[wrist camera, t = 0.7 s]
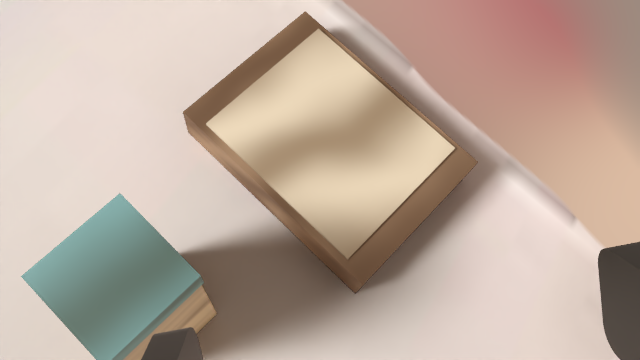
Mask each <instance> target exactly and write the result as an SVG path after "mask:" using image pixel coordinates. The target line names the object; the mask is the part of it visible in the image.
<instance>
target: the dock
mask: <svg viewBox="0 0 640 360" xmlns="http://www.w3.org/2000/svg"><path fill="white" fill-rule="evenodd" d="M183 114H184V118H185V121H186V125H187V129H188V132H189V133H190V134H191V135H192V136H193V137H194V138H195V139H196V140H197V141H198V142H199V143H200V144H201V145H202V146H203V147H204V148H205V149H206V150H207V151H208V152H209V153H210V154H211V155H212V156H213V157H215V158H216V159H217V160H218V161H219V162H220V163H221V164H222V165H223V166H224V167H225V168H226V169H227V170H228V171H229V172H230V173H231V174H232V175H233V176H234V177H235V178H236V179H237V180H238V181H239V182H240V183H241V184H242V185H243V186H245V187H246V188H247V189H248V190H249V191H250V192H251V193H252V194H253V195H254V196H255V197H256V198H257V199H258V200H259V201H260V202H261V203H262V204H263V205H264V206H265V207H266V208H267V209H268V210H269V211H270V212H271V213H272V214H273V215H275V216H276V217H277V218H278V219H279V220H280V221H281V222H282V223H283V224H284V225H285V226H286V227H287V228H288V229H289V230H290V231H291V232H292V233H293V234H294V235H295V236H296V237H297V238H298V239H299V240H300V241H301V242H302V243H304V244H305V245H306V246H307V247H308V248H309V249H310V250H311V251H312V252H313V253H314V254H315V255H316V256H317V257H318V258H319V259H320V260H321V261H322V262H323V263H324V264H325V265H326V266H327V267H328V268H329V269H330V270H331V271H332V272H334V273H335V274H336V275H337V276H338V277H339V278H340V279H341V280H342V281H343V282H344V283H345V284H346V285H347V286H348V287H349V288H350V289H351V290H352V291H353V292H354V293H356V292H357V291H358V290H359V289H360V288H361V287H362V286H363V285H364V284H365V283H366V282H367V281H368V280H369V278H370V277H371V276H372V275H373V274H374V273H375V272H376V271H377V270H378V269H379V268H380V267H381V266H382V265H383V264H384V262H385V261H386V260H387V259H388V258H389V257H390V256H391V255H392V254H393V253H394V252H395V251H396V250H397V249H398V248H399V247H400V245H401V244H402V243H403V242H404V241H405V240H406V239H407V238H408V237H409V236H410V235H411V234H412V233H413V232H414V231H415V229H416V228H417V227H418V226H419V225H420V224H421V223H422V222H423V221H424V220H425V219H426V218H427V217H428V216H429V215H430V214H431V212H432V211H433V210H434V209H435V208H436V207H437V206H438V205H439V204H440V203H441V202H442V201H443V200H444V199H445V198H446V196H447V195H448V194H449V193H450V192H451V191H452V190H453V189H454V188H455V187H456V186H457V185H458V184H459V183H460V182H461V181H462V179H463V178H464V177H465V176H466V175H467V174H468V173H469V172H470V171H471V170H472V168H473V167H474V166H475V165H476V164H477V163H478V161H476V160H475V159H474V158H473V157H472V156H471V155H469V154H468V153H467V152H466V151H465V150H464V149H463V148H461V147H460V146H459V145H458V144H457V143H456V142H455V141H453V140H452V139H451V138H450V137H449V136H448V135H447V134H445V133H444V132H443V131H442V130H441V129H440V128H439V127H437V126H436V125H435V124H434V123H433V122H432V121H430V120H429V119H428V118H427V117H426V116H425V115H424V114H422V113H421V112H420V111H419V110H418V109H417V108H416V107H414V106H413V105H412V104H411V103H410V102H409V101H408V100H406V99H405V98H404V97H403V96H402V95H401V94H400V93H398V92H397V91H396V90H395V89H394V88H393V87H391V86H390V85H389V84H388V83H387V82H386V81H385V80H383V79H382V78H381V77H380V76H379V75H378V74H377V73H375V72H374V71H373V70H372V69H371V68H370V67H369V66H367V65H366V64H365V63H364V62H363V61H362V60H360V59H359V58H358V57H357V56H356V55H355V54H354V53H352V52H351V51H350V50H349V49H348V48H347V47H346V46H344V45H343V44H342V43H341V42H340V41H339V40H338V39H336V38H335V37H334V36H333V35H332V34H331V33H330V32H328V31H327V30H326V29H325V28H324V27H323V26H321V25H320V24H319V23H318V22H317V21H316V20H315V19H313V18H312V17H311V16H310V15H309V14H308V13H307V12H304V13H303V14H301V15H300V16H299V17H298V18H297V19H295V20H294V21H293V22H292V23H291V24H289V25H288V26H287V27H286V28H284V29H283V30H282V31H281V32H280V33H278V34H277V35H276V36H275V37H274V38H272V39H271V40H270V41H269V42H267V43H266V44H265V45H264V46H263V47H261V48H260V49H259V50H258V51H257V52H255V53H254V54H253V55H252V56H250V57H249V58H248V59H247V60H246V61H244V62H243V63H242V64H241V65H240V66H238V67H237V68H236V69H235V70H233V71H232V72H231V73H230V74H229V75H227V76H226V77H225V78H224V79H222V80H221V81H220V82H219V83H218V84H216V85H215V86H214V87H213V88H212V89H210V90H209V91H208V92H207V93H205V94H204V95H203V96H202V97H201V98H199V99H198V100H197V101H196V102H195V103H193V104H192V105H191V106H190V107H188V108H187V109H186V110H185V111H184V112H183Z"/></svg>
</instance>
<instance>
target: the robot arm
mask: <svg viewBox="0 0 640 360" xmlns="http://www.w3.org/2000/svg"><path fill="white" fill-rule="evenodd" d="M598 268H599V280H600V291H601V303H602V315H603V325H604V330H605V334H606V337H607V340H608V342H609V344H610V346H611V348H612V350H613V351H614V353H615V354H616V355H617V356H618V358H620V359H621V360H640V242H637V243H631V244H626V245H621V246H616V247H610V248H605V249H602V250H601V251H600V253H599V257H598ZM141 360H203V356H202V352H201V349H200V345H199V341H198V337H197V334H196V332H195V330H194V329H193V328H192V327H188V328H183V329H178V330H173V331H168V332H162V333H157V334H154V335H153V336H152V338H151V340H150V342H149V344H148V346H147V348H146V350H145V352H144V354H143V357H142V359H141Z"/></svg>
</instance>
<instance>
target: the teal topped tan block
mask: <svg viewBox="0 0 640 360" xmlns="http://www.w3.org/2000/svg"><path fill="white" fill-rule="evenodd" d="M21 277H22V278H23V279H24V280H25V281H26V282H27V283H28V285H29V286H30V287H31V288H32V289H33V290H34V291H35V292H36V293H37V295H38V296H39V297H40V298H41V299H42V300H43V301H44V302H45V303H46V305H47V306H48V307H49V308H50V309H51V310H52V311H53V312H54V313H55V314H56V316H57V317H58V318H59V319H60V320H61V321H62V322H63V323H64V324H65V326H66V327H67V328H68V329H69V330H70V331H71V332H72V333H73V334H74V336H75V337H76V338H77V339H78V340H79V341H80V342H81V343H82V344H83V345H84V347H85V348H86V349H87V350H88V351H89V352H90V353H91V354H92V355H93V357H94V358H95V359H96V360H141V359H142V357H143V354H144V352H145V350H146V348H147V346H148V344H149V342H150V340H151V338H152V336H153V335H154V334H157V333H162V332H168V331H173V330H178V329H183V328H188V327H192V328H193V329H194V330H195V332H196V334H197V333H198V332H199V331H200V330H201V329H202V328H203V327H204V326H205V325H206V324H207V323H208V322H209V321H210V320H211V319H212V318H213V317H214V316H215V315H216V314H217V313H216V311H215V309H214V307H213V305H212V303H211V301H210V299H209V298H208V296H207V294H206V292H205V290H204V288H203V286H202V284H203V283H204V281H203V279H202V277H201V276H200V274H199V273H198V272H197V271H196V270H195V269H194V268H193V267H192V266H191V265H190V264H189V263H188V262H187V261H186V260H185V259H184V258H183V257H182V256H181V255H180V254H179V253H178V252H177V251H176V250H175V249H174V248H173V247H172V246H171V245H170V244H169V243H168V242H167V241H166V240H165V239H164V238H163V237H162V236H161V235H160V234H159V233H158V232H157V231H156V230H155V228H154V227H153V226H152V225H151V224H150V223H149V222H148V221H147V220H146V219H145V218H144V217H143V216H142V215H141V214H140V213H139V212H138V211H137V210H136V209H135V208H134V207H133V206H132V205H131V204H130V203H129V202H128V201H127V200H126V199H125V198H124V197H123V196H122V195H121V194H118V195H117V196H116V197H115V198H114V199H112V200H111V201H110V202H109V203H108V204H107V205H105V206H104V207H103V208H102V209H101V210H99V211H98V212H97V213H96V214H95V215H93V216H92V217H91V218H90V219H89V220H88V221H86V222H85V223H84V224H83V225H82V226H80V227H79V228H78V229H77V230H76V231H74V232H73V233H72V234H71V235H70V236H69V237H67V238H66V239H65V240H64V241H63V242H61V243H60V244H59V245H58V246H57V247H55V248H54V249H53V250H52V251H51V252H50V253H48V254H47V255H46V256H45V257H44V258H42V259H41V260H40V261H39V262H38V263H36V264H35V265H34V266H33V267H32V268H31V269H29V270H28V271H27V272H26V273H25V274H23V275H22V276H21Z"/></svg>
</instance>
